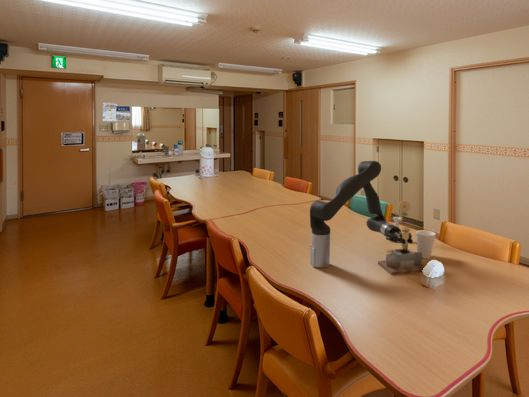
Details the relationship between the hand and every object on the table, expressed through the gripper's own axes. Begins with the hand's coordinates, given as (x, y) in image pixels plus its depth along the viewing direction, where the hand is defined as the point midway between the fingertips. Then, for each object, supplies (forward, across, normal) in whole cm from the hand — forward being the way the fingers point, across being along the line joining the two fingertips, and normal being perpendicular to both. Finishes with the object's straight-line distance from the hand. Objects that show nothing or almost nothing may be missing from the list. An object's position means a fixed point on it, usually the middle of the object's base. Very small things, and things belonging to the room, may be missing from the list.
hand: (408, 242), depth 176 cm
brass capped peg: (-3, 0, +8) cm, 9 cm away
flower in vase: (-43, +19, +15) cm, 49 cm away
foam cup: (-15, +19, +15) cm, 28 cm away
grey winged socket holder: (-3, 0, +13) cm, 13 cm away
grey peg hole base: (-3, 0, +14) cm, 15 cm away
